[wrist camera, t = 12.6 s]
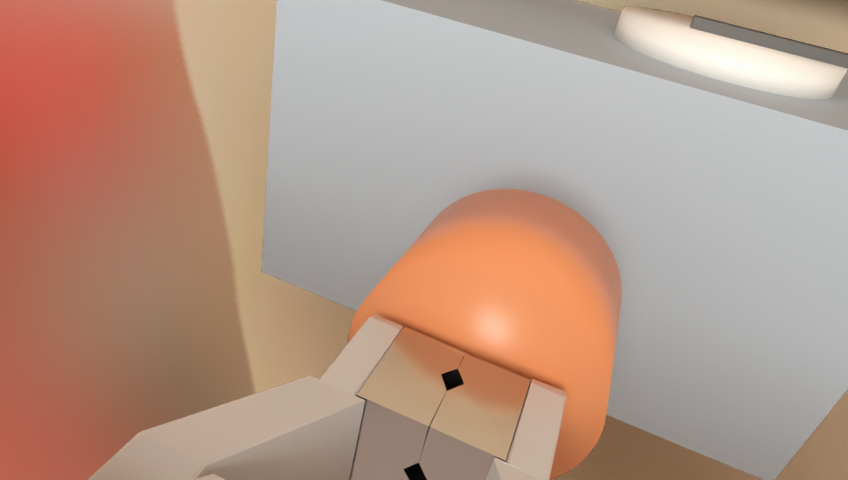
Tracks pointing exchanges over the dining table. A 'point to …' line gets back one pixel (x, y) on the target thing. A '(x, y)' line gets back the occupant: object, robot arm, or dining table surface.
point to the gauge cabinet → (590, 185)
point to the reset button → (516, 300)
